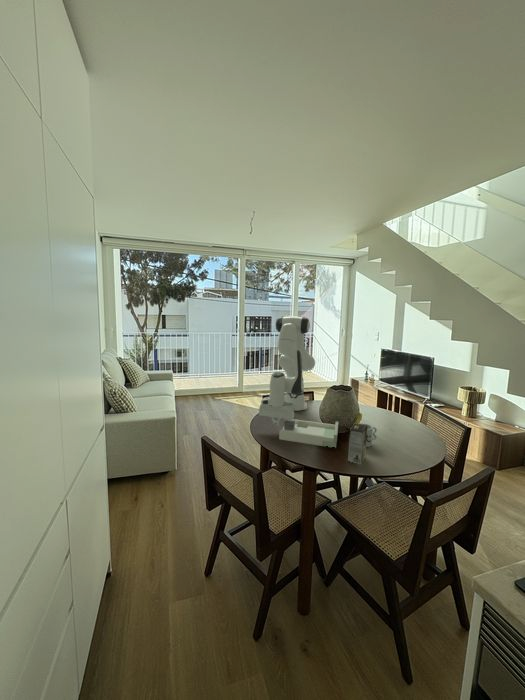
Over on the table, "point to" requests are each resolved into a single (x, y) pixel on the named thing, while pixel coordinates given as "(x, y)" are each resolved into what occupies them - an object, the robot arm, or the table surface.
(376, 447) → the table surface
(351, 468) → the table surface
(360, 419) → the plant pot
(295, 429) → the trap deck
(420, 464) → the table surface
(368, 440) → the mug
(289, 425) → the block
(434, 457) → the table surface
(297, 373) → the robot arm
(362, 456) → the coffee box
